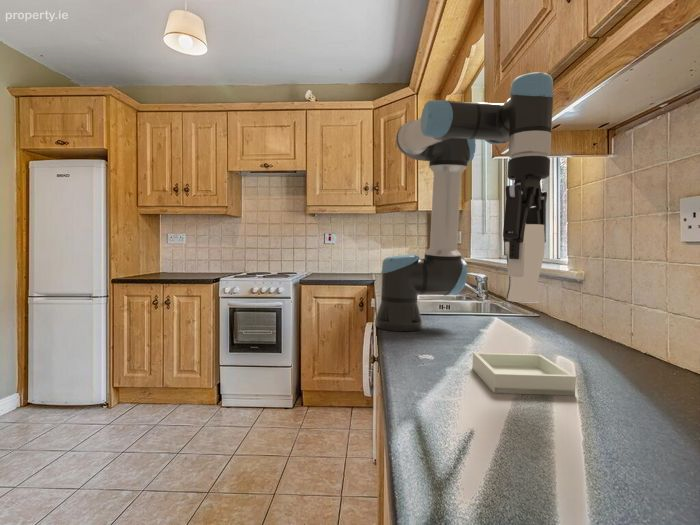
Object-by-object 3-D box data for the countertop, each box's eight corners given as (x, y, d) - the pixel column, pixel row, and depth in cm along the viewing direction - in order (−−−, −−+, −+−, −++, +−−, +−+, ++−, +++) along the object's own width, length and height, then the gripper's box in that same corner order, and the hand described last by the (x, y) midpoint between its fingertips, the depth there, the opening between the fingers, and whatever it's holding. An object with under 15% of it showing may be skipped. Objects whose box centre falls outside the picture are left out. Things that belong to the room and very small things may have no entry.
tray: (472, 368, 89) (472, 352, 89) (539, 370, 89) (540, 354, 88) (494, 393, 74) (494, 374, 74) (575, 395, 74) (576, 376, 74)
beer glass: (538, 299, 83) (542, 226, 82) (545, 304, 76) (548, 224, 76) (502, 297, 85) (505, 225, 84) (505, 302, 78) (508, 223, 78)
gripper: (530, 167, 89) (525, 272, 90) (485, 152, 75) (481, 276, 76) (567, 163, 83) (562, 275, 85) (526, 146, 70) (520, 279, 71)
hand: (523, 275), depth 80 cm, fingers closed on beer glass, 7 cm apart
